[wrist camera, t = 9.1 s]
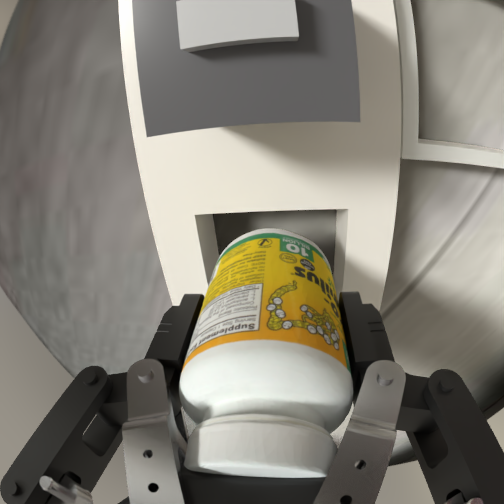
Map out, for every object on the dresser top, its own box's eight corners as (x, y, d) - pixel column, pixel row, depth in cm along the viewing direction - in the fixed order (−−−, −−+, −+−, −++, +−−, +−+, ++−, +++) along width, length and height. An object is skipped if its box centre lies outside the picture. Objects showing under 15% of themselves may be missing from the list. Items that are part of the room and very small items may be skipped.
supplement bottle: (194, 256, 14) (112, 451, 6) (297, 202, 12) (315, 434, 4) (254, 331, 16) (232, 507, 8) (348, 294, 14) (383, 489, 6)
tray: (532, 5, 6) (546, 4, 5) (537, 169, 12) (551, 177, 11) (373, -52, 8) (381, -63, 7) (391, 152, 14) (402, 158, 12)
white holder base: (366, -28, 9) (436, -108, 2) (362, 310, 19) (389, 426, 11) (145, -9, 10) (35, -57, 3) (197, 313, 20) (160, 424, 13)
